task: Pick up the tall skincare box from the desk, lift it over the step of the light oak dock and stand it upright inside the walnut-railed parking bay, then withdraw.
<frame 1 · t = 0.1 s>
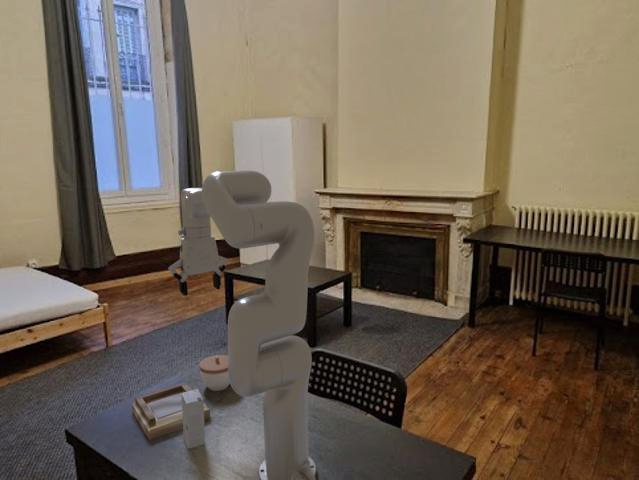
hand: (201, 291, 131), 31 cm above the table, tool pointing down, fingers open, 9 cm apart
skincare box: (194, 441, 113), on the table
dock: (170, 414, 124), on the table
lidded jar: (218, 386, 140), on the table
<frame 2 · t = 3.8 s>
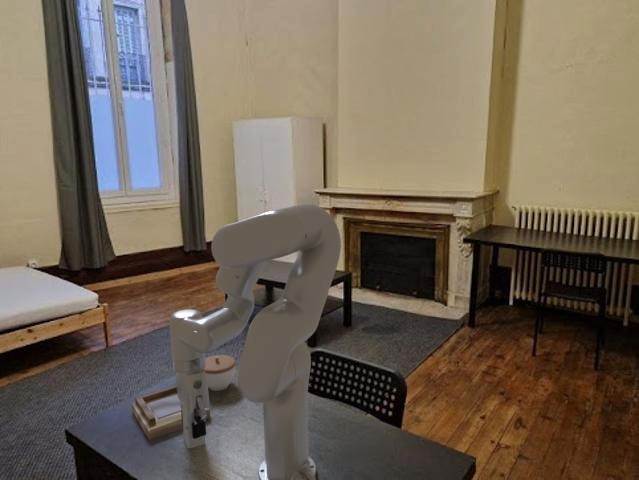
hand: (193, 428, 112), 3 cm above the table, tool pointing down, fingers closed on skincare box, 6 cm apart
skincare box: (194, 441, 113), on the table, touching gripper
everything else where it was.
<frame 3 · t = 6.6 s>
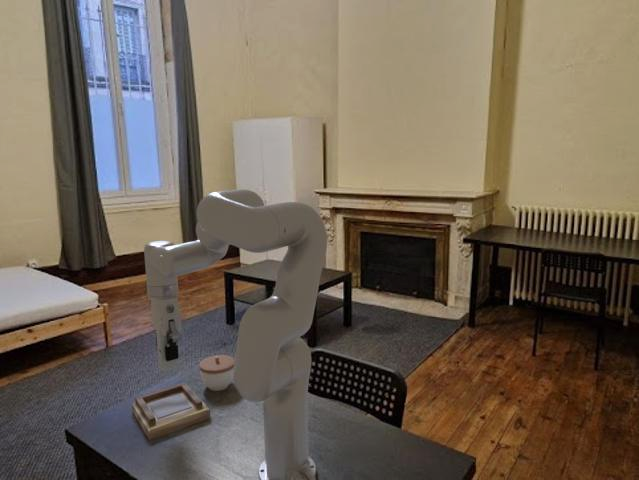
hand: (167, 354, 120), 18 cm above the table, tool pointing down, fingers closed on skincare box, 6 cm apart
skincare box: (168, 366, 120), point 15 cm above the table, touching gripper
everything else where it was.
when the fingers open (7 cm above the table, at t = 9.6 s): skincare box drops 1 cm, resting on dock.
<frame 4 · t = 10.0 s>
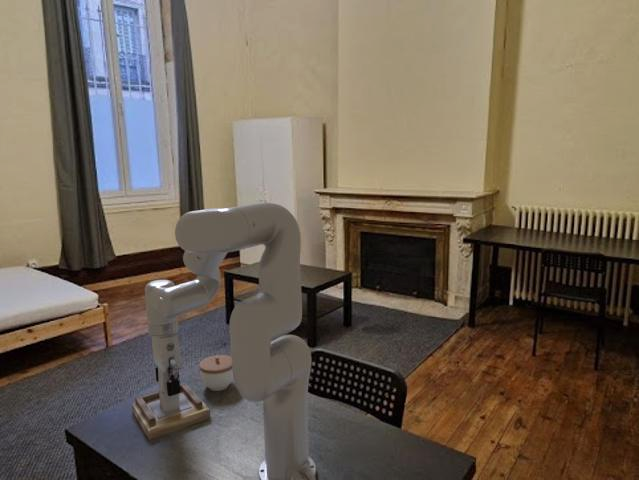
hand: (168, 387, 123), 8 cm above the table, tool pointing down, fingers open, 9 cm apart
skincare box: (170, 406, 124), point 2 cm above the table, touching dock
everything else where it was.
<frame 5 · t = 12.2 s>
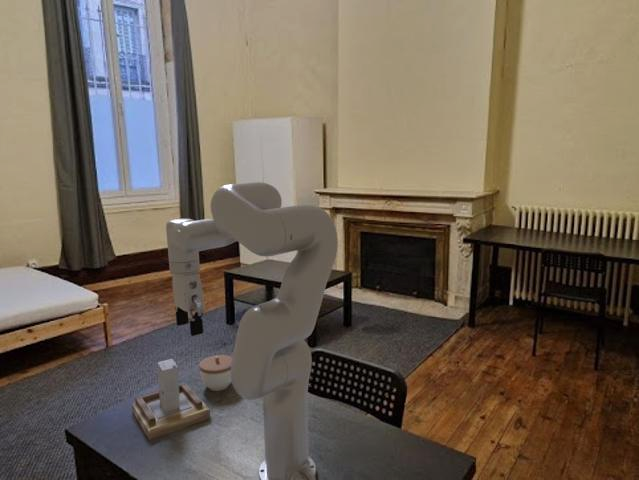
hand: (189, 329, 121), 24 cm above the table, tool pointing down, fingers open, 9 cm apart
nothing on the table moved.
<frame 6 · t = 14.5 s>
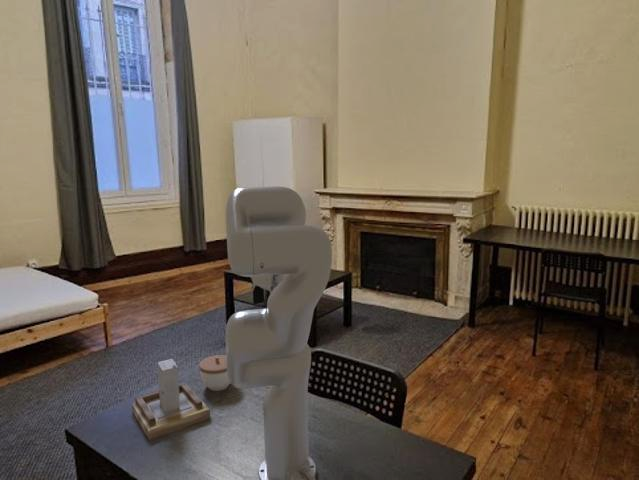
hand: (267, 307, 125), 28 cm above the table, tool pointing down, fingers open, 9 cm apart
nothing on the table moved.
at the end: skincare box inside the target area on the dock (0.5 cm from its centre), point 2.5 cm above the dock's base; skincare box tilted 0°; the gripper is holding nothing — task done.
